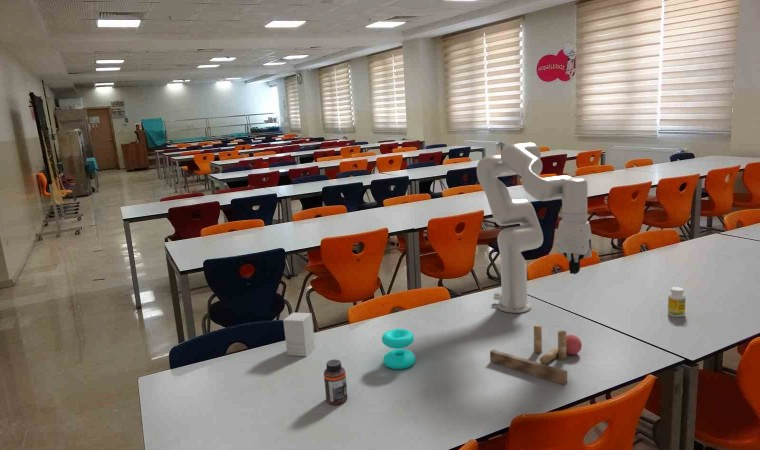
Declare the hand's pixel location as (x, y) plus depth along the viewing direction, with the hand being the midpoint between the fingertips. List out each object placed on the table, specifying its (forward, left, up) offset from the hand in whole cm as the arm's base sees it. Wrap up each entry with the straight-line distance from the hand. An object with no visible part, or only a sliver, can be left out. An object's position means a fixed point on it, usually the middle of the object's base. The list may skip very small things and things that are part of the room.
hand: (574, 272), depth 177 cm
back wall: (0, -31, -22) cm, 38 cm away
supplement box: (-67, -62, -22) cm, 94 cm away
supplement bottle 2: (+20, +38, -22) cm, 48 cm away
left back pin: (-4, -17, -22) cm, 28 cm away
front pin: (+2, -15, -21) cm, 26 cm away
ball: (+5, -12, -19) cm, 23 cm away
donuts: (-34, -49, -22) cm, 64 cm away
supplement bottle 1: (-33, -76, -22) cm, 86 cm away
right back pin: (+4, -17, -22) cm, 28 cm away
